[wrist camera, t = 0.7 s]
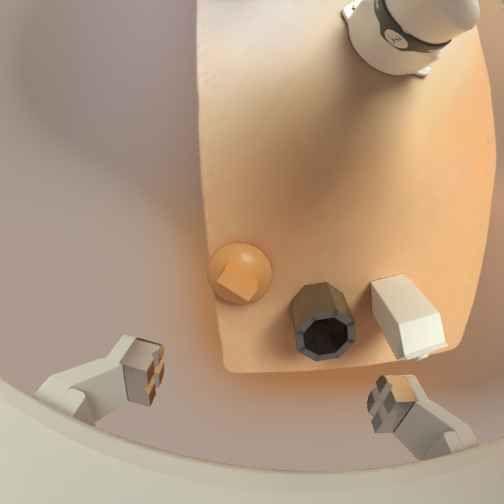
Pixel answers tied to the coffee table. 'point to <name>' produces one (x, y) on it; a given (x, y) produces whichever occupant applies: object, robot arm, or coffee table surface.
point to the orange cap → (240, 273)
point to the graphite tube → (322, 333)
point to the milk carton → (406, 318)
